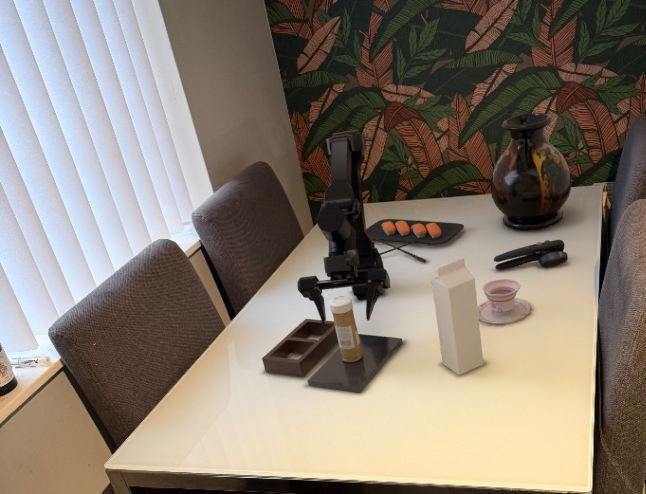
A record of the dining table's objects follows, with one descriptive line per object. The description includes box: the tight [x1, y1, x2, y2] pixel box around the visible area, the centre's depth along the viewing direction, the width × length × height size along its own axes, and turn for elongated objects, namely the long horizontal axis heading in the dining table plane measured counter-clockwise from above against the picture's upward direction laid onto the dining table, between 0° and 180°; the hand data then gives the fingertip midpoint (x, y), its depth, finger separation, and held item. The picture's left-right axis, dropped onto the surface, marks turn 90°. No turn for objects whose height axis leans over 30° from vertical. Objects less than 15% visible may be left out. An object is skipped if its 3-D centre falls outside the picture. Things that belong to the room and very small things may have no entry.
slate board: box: [307, 333, 404, 393], centre depth 159 cm, size 20×12×1 cm, turn 153°
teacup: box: [478, 278, 531, 325], centre depth 167 cm, size 12×12×6 cm
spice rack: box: [261, 318, 339, 378], centre depth 166 cm, size 18×10×4 cm, turn 153°
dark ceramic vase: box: [490, 112, 572, 232], centre depth 205 cm, size 22×22×28 cm
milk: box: [430, 258, 484, 376], centre depth 147 cm, size 6×6×22 cm
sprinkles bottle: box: [329, 295, 363, 362], centre depth 156 cm, size 5×5×13 cm
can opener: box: [493, 239, 569, 271], centre depth 186 cm, size 18×7×6 cm, turn 88°
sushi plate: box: [366, 218, 465, 263], centre depth 211 cm, size 29×30×4 cm
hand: (346, 322), depth 157 cm, fingers open, 9 cm apart
